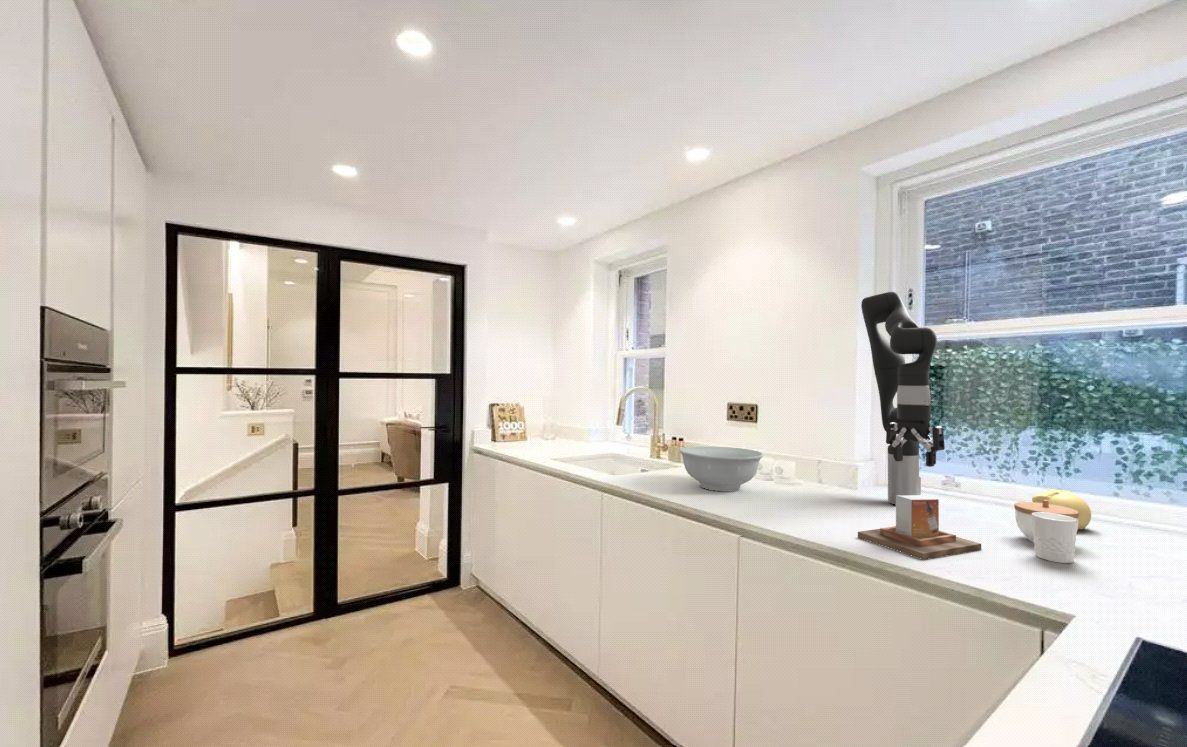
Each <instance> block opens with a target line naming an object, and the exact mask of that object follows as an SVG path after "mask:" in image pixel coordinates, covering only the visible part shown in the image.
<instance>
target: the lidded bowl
mask: <svg viewBox="0 0 1187 747" xmlns="http://www.w3.org/2000/svg"><path fill="white" fill-rule="evenodd" d="M1013 507H1014V509H1015V510H1014V514H1015V515H1014V516H1015V522H1016V524H1017V525H1016V526H1017V528H1018V529H1019V531H1020V532H1021V533H1022V535H1024V536H1025V537H1026V538H1027V541H1029V542H1031V543H1034V537H1033V526H1032V513H1034V512H1045V513H1054V514H1060V515H1065V516H1069V517H1073V518H1075V519H1076V520H1077V524H1076V534H1077V532H1078V530H1079V529H1078V522H1079V521H1078V517H1079V512H1078V511H1077V510H1074V509H1071V508H1068V507H1063V506H1058V505H1052V504H1049V501H1048V500H1043V503H1035V502H1033V501H1020V502H1015V503H1014V506H1013Z"/></svg>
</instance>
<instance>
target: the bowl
mask: <svg viewBox="0 0 1187 747" xmlns="http://www.w3.org/2000/svg"><path fill="white" fill-rule="evenodd" d="M679 453H680V454H681V455H682V459H683V465H684V469H685V471H686V473H687V474H688V475H689V476H690V477H691V478H692V479H694V480H695V481H697V482H698V483H699V486H700V488H702V489H704V488H705V489H704V490H707V489H709V490H708V491H713V490H715V491H714V492H736V491H735V490H737V491H740V489H741V486H742V485H744V484H746V483H748V482H750V481H751V480H752V479H753V478H755V476H756V474H757V471H758V469H759V464H760V460H761V459H762V458H763V457H764V454H763V453H762V452H761V451H759V450H754V449H748V448H742V447H741V448H740V447H728V446H687V447H682V448H679Z"/></svg>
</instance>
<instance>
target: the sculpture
mask: <svg viewBox="0 0 1187 747" xmlns="http://www.w3.org/2000/svg"><path fill="white" fill-rule="evenodd" d="M1031 500H1032V501H1031V502H1035V503H1043V500H1048V501H1049V504H1052V505H1058V506H1063V507H1068V508H1071V509H1074V510H1077V511H1078V512H1079V517H1078V521H1079V522H1078V530H1083V529H1085V528H1086V527H1088V525H1089V524H1090V523H1091V519H1092V511H1091V508H1090V506H1089V504H1088V503H1087V502H1086V501H1085V500H1084V499H1083V498H1082V497H1081V496H1078V495H1076V494H1074V493H1072V492H1071V491H1070V490H1063V489H1059V490H1058V489H1052V488H1050V489H1047V490H1046V491H1045V492H1042V493H1039V494H1035V495H1034V496H1033V495H1032V499H1031Z"/></svg>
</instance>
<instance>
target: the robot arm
mask: <svg viewBox="0 0 1187 747" xmlns="http://www.w3.org/2000/svg"><path fill="white" fill-rule="evenodd" d="M861 313H862V316H863V321H864V324H865V328H866V332H867V337H868V340H869V341H868V342H869V346H870V351H871V352H870V353H871V359H872V365H873V370H874V377H875V380H876V385H877V389H878V396H879V401H880V402H879V403H880V414H881V423H882V427H883V430H884V431H885V432H886V433H885V434H886V435H885V437H886V438H885V443H886V444H887V445H888V446H887V502H889V503H888V504H890V503H892V504H891V505H893V504H895V505H894V506H896V495H922V490H921V489H922V482H921V481H922V480H921V477H920V445H921V446H922V447H923V448H924V449H925V450H926V452H925V465H926V467H929V468H931V467H935V465H936V464H937V452H939V451H944V450H945V448H946V446H945V436H944V435H945V434H944V428H943V427H942V426H931V424H930V422H931V418H932V415H931V413H932V412H931V410H932V409H931V408H932V406H931V401H932V400H931V398H932V397H931V389H930V370H931V368H930V367H931V364H932V359H933V355H934V353H935V350H936V349H937V344H938V335H937V332H935V330H934V329H932V328H931V327H919V325H918V324H917V322H916V321H915V320H913V319H912V317H911V316H910V315H909V312H908V310H907V308H906V306H905V303H904V302H903V300H902V298H901V296H900V294H898V293H897V292H895V291H887V292H883V293H879V294H875V295H870V296H867V297H864V298H863V299H862V300H861ZM883 323H884V327H885V331H886V333H887V334H888V336H889V337H890V340H888V339H887V338H886V337H885V335H883V333H882V332H881V331H880V330H879V328H878V324H883ZM904 355H918V357H917V358H916V360H915V361H911V362H907V363H906V359H905V356H904ZM895 396H896V407H895V406H894V399H895ZM930 434H931V435H930Z"/></svg>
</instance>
